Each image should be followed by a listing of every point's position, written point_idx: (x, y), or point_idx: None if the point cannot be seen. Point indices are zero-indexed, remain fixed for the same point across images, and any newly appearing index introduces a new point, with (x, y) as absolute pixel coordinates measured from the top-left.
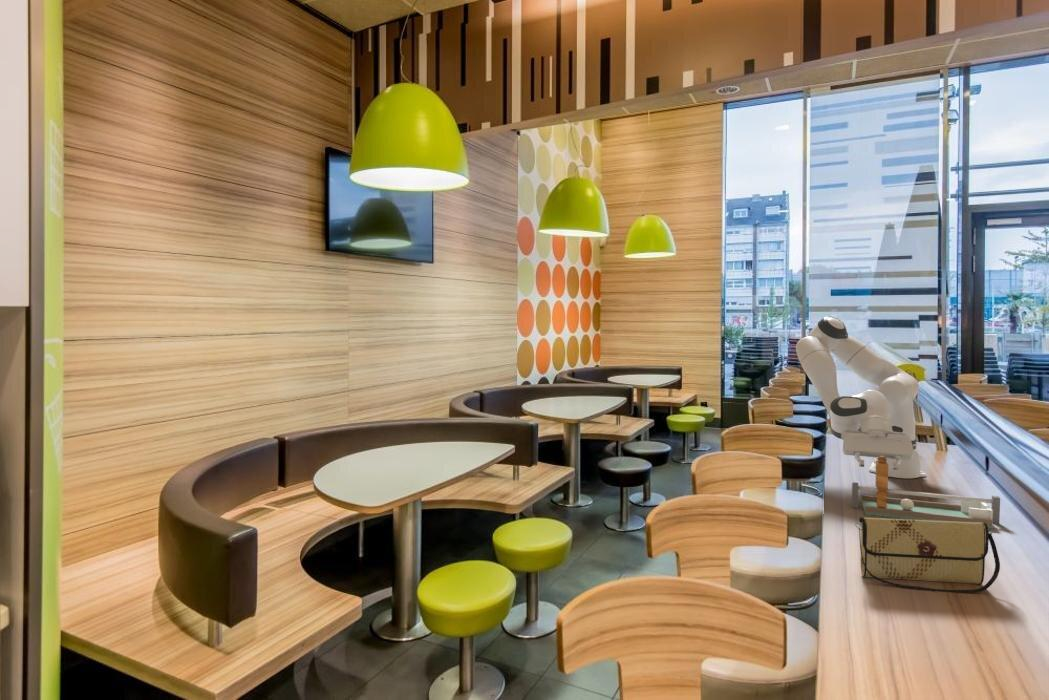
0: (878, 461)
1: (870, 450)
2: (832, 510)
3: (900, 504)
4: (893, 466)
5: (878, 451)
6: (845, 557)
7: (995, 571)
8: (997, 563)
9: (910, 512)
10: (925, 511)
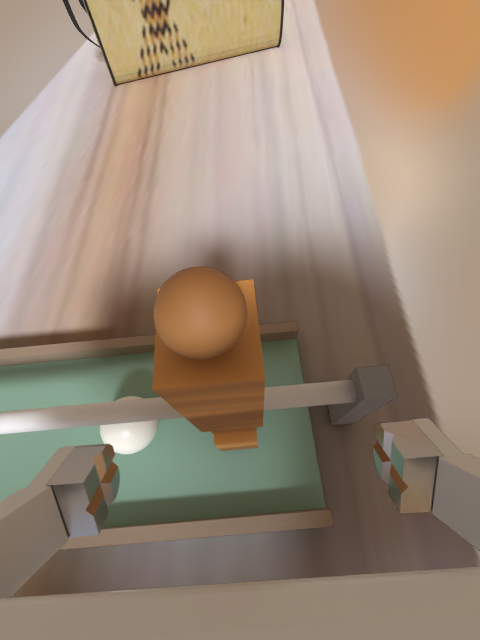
0: (240, 367)
1: (391, 599)
2: (407, 330)
3: (157, 421)
4: (100, 447)
5: (225, 595)
6: (309, 81)
7: (88, 38)
8: (77, 26)
9: (140, 337)
10: (68, 442)
